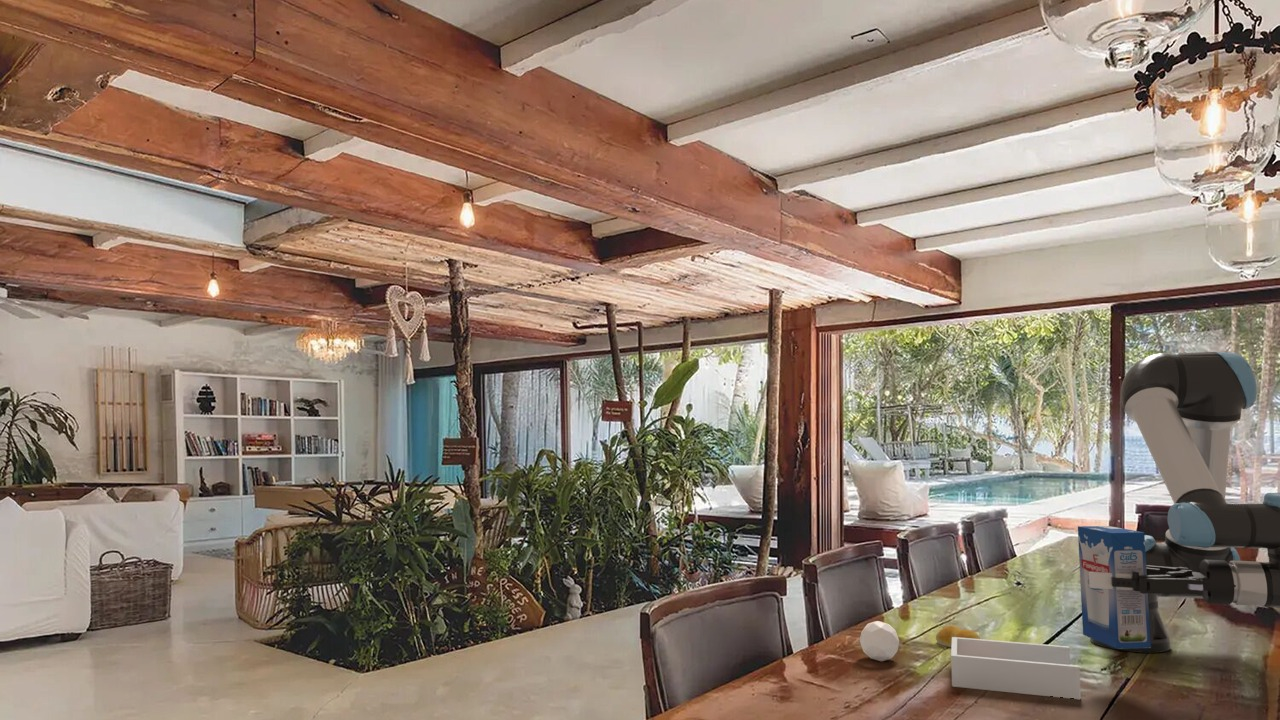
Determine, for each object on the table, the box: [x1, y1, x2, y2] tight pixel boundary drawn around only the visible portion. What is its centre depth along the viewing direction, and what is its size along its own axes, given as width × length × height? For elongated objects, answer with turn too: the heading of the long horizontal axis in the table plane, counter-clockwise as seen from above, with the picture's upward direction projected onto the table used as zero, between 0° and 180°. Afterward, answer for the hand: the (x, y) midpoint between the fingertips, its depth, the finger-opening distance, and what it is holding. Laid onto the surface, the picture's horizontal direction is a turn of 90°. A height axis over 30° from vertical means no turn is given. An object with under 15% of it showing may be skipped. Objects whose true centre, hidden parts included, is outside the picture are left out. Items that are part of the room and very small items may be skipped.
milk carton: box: [1077, 525, 1151, 650], centre depth 150 cm, size 10×6×20 cm, turn 4°
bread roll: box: [935, 625, 981, 648], centre depth 181 cm, size 8×9×4 cm
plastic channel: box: [950, 637, 1082, 700], centre depth 154 cm, size 21×15×6 cm
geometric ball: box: [859, 620, 900, 662], centre depth 169 cm, size 8×8×8 cm
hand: (1085, 574), depth 151 cm, fingers closed on milk carton, 10 cm apart
